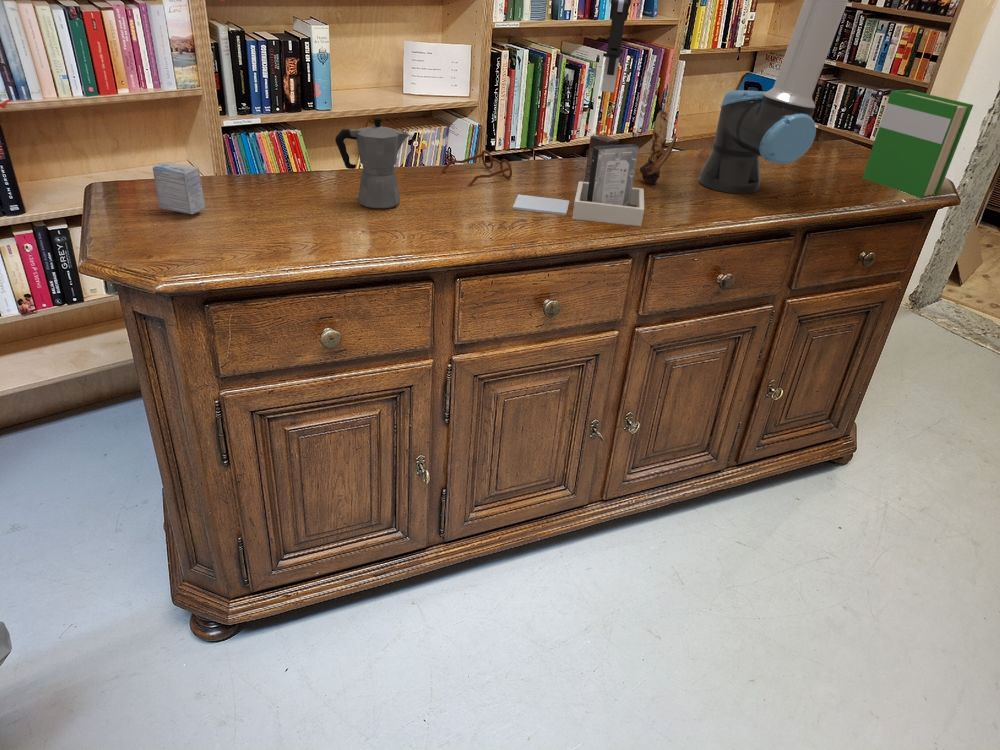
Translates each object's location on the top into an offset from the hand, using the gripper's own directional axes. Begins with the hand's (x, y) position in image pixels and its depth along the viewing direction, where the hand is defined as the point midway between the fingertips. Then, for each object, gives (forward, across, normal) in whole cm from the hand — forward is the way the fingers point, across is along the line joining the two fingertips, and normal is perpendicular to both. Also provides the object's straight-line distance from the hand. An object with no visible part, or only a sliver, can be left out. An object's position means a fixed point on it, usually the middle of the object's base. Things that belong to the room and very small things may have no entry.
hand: (607, 88), depth 154 cm
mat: (+26, 0, -11) cm, 29 cm away
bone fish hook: (+26, -24, +14) cm, 38 cm away
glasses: (+27, -17, -29) cm, 43 cm away
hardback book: (+25, -45, +81) cm, 96 cm away
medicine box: (+28, +28, -82) cm, 91 cm away
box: (+26, -19, +1) cm, 32 cm away
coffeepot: (+27, +10, -47) cm, 55 cm away
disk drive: (+26, -1, +4) cm, 27 cm away
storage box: (+26, 0, +4) cm, 27 cm away
